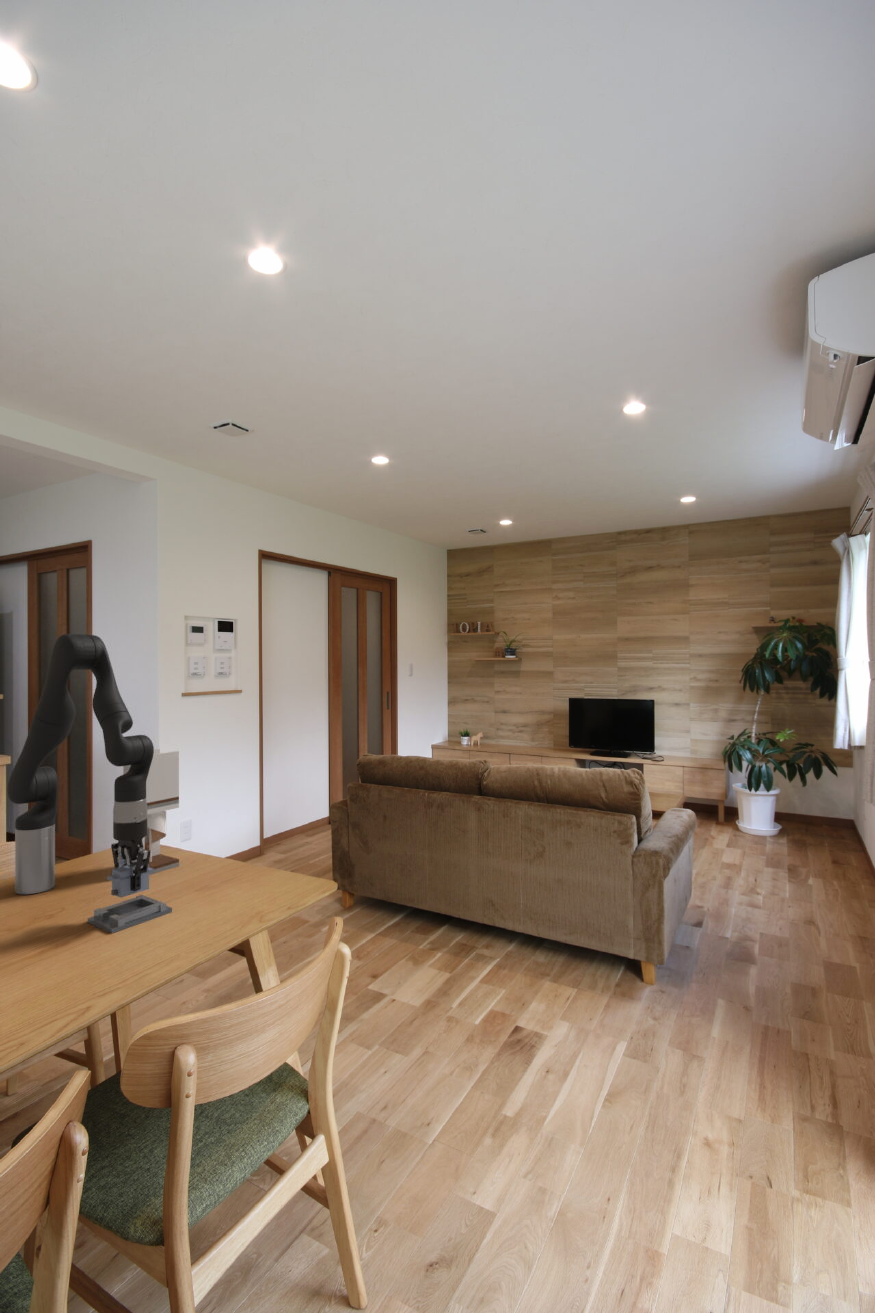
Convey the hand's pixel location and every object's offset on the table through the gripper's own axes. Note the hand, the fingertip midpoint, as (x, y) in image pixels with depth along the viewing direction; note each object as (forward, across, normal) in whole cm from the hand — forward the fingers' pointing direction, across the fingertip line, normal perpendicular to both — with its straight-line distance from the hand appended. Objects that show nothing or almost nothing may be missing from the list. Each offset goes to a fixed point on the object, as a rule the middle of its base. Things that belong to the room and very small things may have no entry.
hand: (130, 888), depth 153 cm
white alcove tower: (+7, -31, +24) cm, 40 cm away
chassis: (+7, 0, 0) cm, 7 cm away
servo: (+1, 0, 0) cm, 1 cm away
